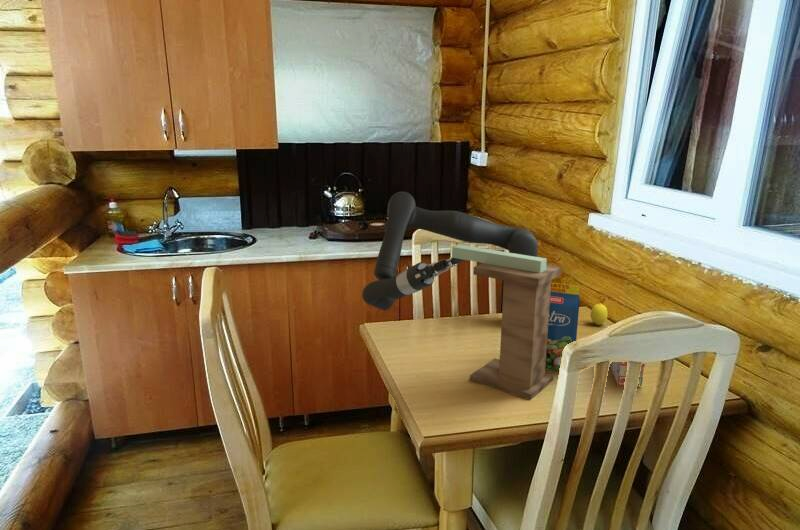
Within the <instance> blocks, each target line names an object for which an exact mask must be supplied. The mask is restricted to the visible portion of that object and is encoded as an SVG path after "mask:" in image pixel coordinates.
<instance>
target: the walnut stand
mask: <svg viewBox="0 0 800 530" xmlns="http://www.w3.org/2000/svg"><path fill="white" fill-rule="evenodd" d="M562 270H563V269H562V266H557V265H550V264H546V270H545V271H543V272H541V273H538V272H532V271H526V270H521V269H515V268H509V267H504V266H498V265H492V264H487V263H480V264H477V265H475V266H473V272H472V274H473V275H474V276H481V277H484V278H491V279H495V280H501V281H503V289H502V304H501V305H502V306H501V307H502V308H501V309H502V310H501V311H502V312H501V327H500V329H501V331H500V348H499V352H500V353H499V359H498V358H493V359H492V360H491V361H489V362H487V363H486V364H484V365H483V366H481V367H479V368H478V369H477V370H475V371H474V372H472V373H471V374H469V381H471V382H474V383H477V384H480V385H483V386H486V387H489V388H493V389H496V390H499V391H502V392H505V393H508V394H511V395H515V396H518V397H521V398H523V397H524V399H526V398H527V400H530V401H531V400H533V399H534V398H535V397H536V396H537V395H538V394H539V393H540V392H542V391H543V390H544V389H545V388H546V387H547V386H548V385H550V384H551V383H552V382H553V381H554V375H553V374H550V373H547V372H546V369H545V363H546V349H547V335H548V321H549V307H550V293H551V282H552V281H553V280H554V279H555V278H558V277H559V276H561V275H562ZM549 383H550V384H549Z"/></svg>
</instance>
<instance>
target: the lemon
mask: <svg viewBox="0 0 800 530" xmlns="http://www.w3.org/2000/svg"><path fill="white" fill-rule="evenodd" d="M590 319H591V321H592V322H593V323H594V324H595V325H597V326H600V325H602V324H604V323H605V322H606V321H607V320H608V308H607V307H606V306H605V305H604V304H602V303H601V302H600V303H596V304H595V305H593V306H592V308H591V310H590Z"/></svg>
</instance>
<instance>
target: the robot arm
mask: <svg viewBox="0 0 800 530" xmlns="http://www.w3.org/2000/svg"><path fill="white" fill-rule="evenodd" d="M386 211H387V212H386V213H387V223H386V229H385V233H384V235H383V239H382V243H381V246H380V249H379V252H378V254H377V258H376V261H375V266H374V270H373V275H374V277H375V278H376V279H377V280H373V281H371V282H370V283H367V284H366V286H365V287H364V288H363V289H362V293H361V298H362V301H364V303H366V304H367V305H370V306H372V307H375V308H376V309H378V310H381V311H388V310H390V309H391V308H392V307H393V306H394V303H395V300H400V299H403V298H404V297H405V298H406V297H407V296H409V295H412V294H415V293H418V292H420V291H421V290H425V289H427V288H428V287H431V286H432V285H433V284H434V282H435V277H438V276H440V275H441V274H443V273H445V272H447V271H449V270H450V269H451V268H453V267H455V266H458V265H459V263H462V262H464V261H465V260H464V259H458V258H452V256H451V257H449V258H447V259H445V258H443V259H441V260H439V261H437V262H435V261H434V262H431V263H428V264H427V263H426V262H423V261H421V262H420V261H419V262H418V263H415V264H414V265H412V266H410V267H408V268H406V269H404V270H402V271H401V272H400V273H398V274H397V272H398V267H399V263H400V257H401V254H402V248H403V247H402V246H403V243H404V237H405V234H406V233H405V232H406V230H407V228H410V229H411V228H412V229H417V230H418V229H419V230H422V231H423V230H424V231H427V232H430V233H433V234H437V235H440V236H444V237H448V238H449V239H450V238H451V239H453V240H456V241H457V240H458V241H461V242H465V243H470V244H482V245H483V244H486V245H493V246H496V247H499V248H501V249H503V250H507V251H508V253H515V254H521V255H527V256H534V257H538V251H539V247H538V246H539V245H538V240H537V238H536V236H535V235H534V234H533V233H532V232H531V231H530V230H528V229H526V228H522V227H516V226H515V227H514V226H510V225H509V226H508V225H504V224H503V225H502V224H499V223H495V222H492V221H489V220H487V219H486V218H481V217H478V216H475V215H472V214H470V213H469V214H468V213H466V212H463V211H462V212H461V211H459V210H458V211H456V210H429V209H425V208H422V207H419V206H417V205H416V200H415V198H414V196H412V195H411V193H409V192H407V191H398V192H396V193H394V194H393V195H391V197H390V199H389V200H388V203H387V210H386Z"/></svg>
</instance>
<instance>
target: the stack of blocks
mask: <svg viewBox="0 0 800 530" xmlns="http://www.w3.org/2000/svg"><path fill="white" fill-rule="evenodd" d="M609 326H610V325H608V326H606V328H607V327H609ZM609 367H610V369H611V371H613V372H612V373H613V377H614V379H615V382H617V383H616V385H617V386H620V387H621V386H622V387H625V386H624V382H625V377H626V372H627V362H612V363H611V364H610V365H609ZM644 368H645V364H642V366H641V371H640V377H639V384H638V387H637V388H640V387H639V385H640V386H642V385H643V379H644V377H643V376H644V370H645V369H644Z"/></svg>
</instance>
